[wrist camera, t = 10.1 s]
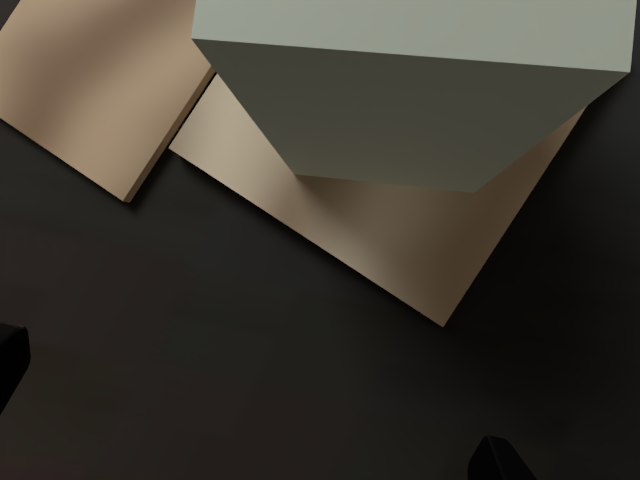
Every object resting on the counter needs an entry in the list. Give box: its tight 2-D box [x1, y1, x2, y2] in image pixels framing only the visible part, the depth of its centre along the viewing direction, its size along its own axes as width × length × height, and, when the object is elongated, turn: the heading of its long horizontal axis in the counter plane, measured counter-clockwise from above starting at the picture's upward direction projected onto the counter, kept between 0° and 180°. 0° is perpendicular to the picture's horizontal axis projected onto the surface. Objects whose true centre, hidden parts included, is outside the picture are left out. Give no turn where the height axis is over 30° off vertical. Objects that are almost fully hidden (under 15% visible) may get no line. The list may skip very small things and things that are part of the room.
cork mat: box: [0, 0, 215, 203], centre depth 22 cm, size 9×9×1 cm
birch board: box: [169, 74, 587, 327], centre depth 20 cm, size 13×13×1 cm
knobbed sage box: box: [191, 0, 637, 193], centre depth 13 cm, size 7×7×13 cm
